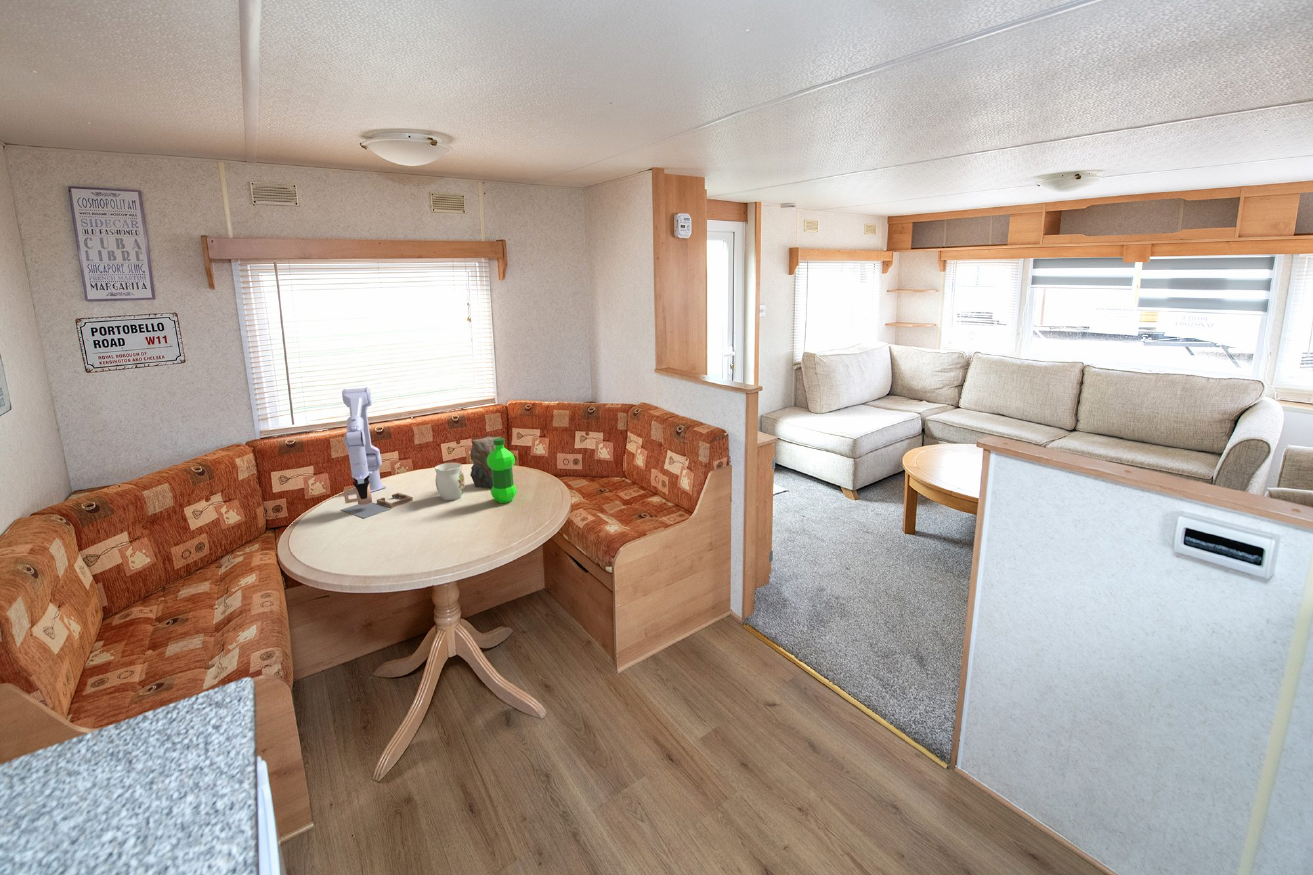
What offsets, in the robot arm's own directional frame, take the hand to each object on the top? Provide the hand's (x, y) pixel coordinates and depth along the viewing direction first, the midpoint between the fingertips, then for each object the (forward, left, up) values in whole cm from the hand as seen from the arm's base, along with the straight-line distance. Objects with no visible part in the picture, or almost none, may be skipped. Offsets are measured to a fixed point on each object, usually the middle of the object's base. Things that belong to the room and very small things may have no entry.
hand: (363, 496), depth 235 cm
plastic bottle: (+39, +35, -6) cm, 53 cm away
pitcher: (+17, +27, -6) cm, 32 cm away
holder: (+2, +11, -5) cm, 12 cm away
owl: (+19, +45, -6) cm, 49 cm away
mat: (0, 0, -5) cm, 5 cm away
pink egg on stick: (-1, -2, -2) cm, 3 cm away
